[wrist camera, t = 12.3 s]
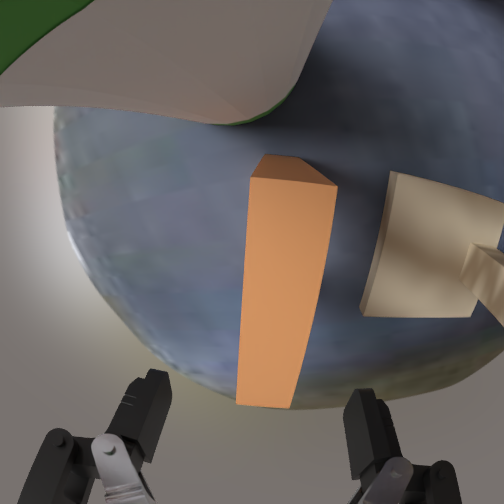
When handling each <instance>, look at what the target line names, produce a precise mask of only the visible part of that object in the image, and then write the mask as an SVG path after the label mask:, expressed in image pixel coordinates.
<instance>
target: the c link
mask: <svg viewBox="0 0 504 504" xmlns="http://www.w3.org/2000/svg"><path fill="white" fill-rule="evenodd" d="M337 189H338V186H337V185H335V184H334V183H333V182H331V181H330V180H329V179H328V178H326V177H325V176H324V175H322V174H321V173H320V172H318V171H317V170H315V169H314V168H313V167H311V166H310V165H309V164H307V163H306V162H305V161H303V160H302V159H300V158H299V157H291V156H282V155H271V154H265V155H264V156H263V158H262V159H261V161H260V162H259V164H258V166H257V167H256V169H255V171H254V172H253V174H252V175H251V177H250V191H249V206H248V220H247V235H246V250H245V265H244V280H243V296H242V312H241V328H240V344H239V361H238V378H237V395H236V404H241V405H250V406H262V407H275V408H290V404H291V401H292V398H293V394H294V391H295V387H296V384H297V380H298V377H299V373H300V370H301V366H302V362H303V359H304V355H305V351H306V347H307V343H308V339H309V335H310V331H311V327H312V323H313V318H314V314H315V310H316V305H317V301H318V296H319V291H320V287H321V282H322V277H323V272H324V267H325V262H326V256H327V251H328V246H329V240H330V234H331V228H332V222H333V216H334V210H335V203H336V196H337Z"/></svg>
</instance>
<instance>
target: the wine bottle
mask: <svg viewBox="0 0 504 504" xmlns="http://www.w3.org/2000/svg"><path fill="white" fill-rule="evenodd" d="M332 1H333V0H0V107H13V106H74V107H91V108H104V109H115V110H124V111H133V112H140V113H148V114H155V115H161V116H167V117H173V118H179V119H184V120H190V121H195V122H200V123H205V124H212V125H232V126H234V125H238V124H243V123H248V122H252V121H254V120H257V119H259V118H261V117H263V116H265V115H267V114H269V113H271V112H272V111H273V110H274V109H276V108H277V107H278V106H279V105H281V104H282V103H283V102H284V101H285V99H286V98H287V97H288V95H289V94H290V93H291V91H292V90H293V89H294V86H295V84H296V82H297V81H298V78H299V76H300V74H301V71H302V69H303V67H304V64H305V62H306V60H307V57H308V55H309V53H310V50H311V48H312V46H313V43H314V41H315V39H316V37H317V34H318V32H319V30H320V28H321V25H322V23H323V21H324V19H325V16H326V14H327V12H328V10H329V7H330V5H331V3H332Z"/></svg>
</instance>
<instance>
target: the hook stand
mask: <svg viewBox="0 0 504 504" xmlns="http://www.w3.org/2000/svg"><path fill="white" fill-rule="evenodd" d="M503 224H504V203H502V202H500V201H497V200H494V199H492V198H489V197H486V196H483V195H480V194H477V193H474V192H470V191H467V190H464V189H461V188H457V187H454V186H450V185H447V184H443V183H440V182H436V181H432V180H428V179H424V178H420V177H416V176H412V175H408V174H404V173H399V172H395V171H390V175H389V182H388V188H387V194H386V199H385V205H384V210H383V215H382V220H381V225H380V230H379V234H378V239H377V243H376V247H375V251H374V256H373V260H372V263H371V267H370V271H369V275H368V279H367V282H366V286H365V289H364V293H363V296H362V299H361V303H360V306H359V308H360V310H361V312H362V315H363V316H368V317H408V318H447V317H471V314H472V312H473V310H474V308H475V306H476V303H477V301H478V299H479V300H480V301H481V302H482V303H483V304H484V306H485V307H486V308H487V309H488V310H489V311H490V312H491V313H492V314H493V315H494V316H495V318H496V319H497V320H498V321H499V322H500V323H501V324H502V326H503V327H504V253H502V252H501V251H499V250H498V249H497V246H498V243H499V239H500V236H501V232H502V228H503Z"/></svg>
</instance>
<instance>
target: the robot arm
mask: <svg viewBox="0 0 504 504" xmlns="http://www.w3.org/2000/svg"><path fill="white" fill-rule="evenodd" d="M171 401H172V390H171V386H170V380H169V375H168V372H165V371H160V370H156V369H150V370H149V371H148V373H147V375H146V377H145V379H142V378H139V377H138V378H137V379H135V380H134V381H133V382H132V383H131V384H130V385H129V386H128V388H127V390H126V392H125V396H123V398H122V400H121V403H120V405H119V407H118V409H117V411H116V413H115V415H114V417H113V419H112V421H111V423H110V425H109V427H108V429H107V431H106V432H105V433H104V434H101V435H99V436H97V437H96V438H83V437H74V436H72V435H71V434H70V433H69V432H68V431H67V430H65V429H61V428H56V429H53V430H51V431H49V432H48V434H47V435H46V437H45V439H44V441H43V443H42V445H41V447H40V450H39V452H38V454H37V456H36V459H35V461H34V463H33V465H32V467H31V470H30V472H29V475H28V477H27V479H26V482H25V484H24V487H23V489H22V492H21V495H20V498H19V500H18V503H17V504H87V502H88V499H89V495H90V492H91V489H92V486H93V483H94V480H95V478H96V479H101V480H102V483H103V486H104V488H105V492H106V495H105V501H106V504H158V503H157V501H156V499H155V497H154V495H153V494H152V491H151V490H150V487H149V486H148V483H147V481H146V479H145V477H144V475H143V473H142V471H141V467H142V464H143V461H145V462H148V463H151V462H152V459H153V456H154V452H155V450H156V446H157V443H158V440H159V437H160V434H161V431H162V429H163V426H164V423H165V420H166V417H167V414H168V411H169V408H170V405H171ZM343 421H344V427H345V434H346V440H347V447H348V454H349V460H350V468H351V476H352V480H358V479H360V481H361V485H360V486H359V487H358V489H357V490H356V492H355V493H354V495H353V496H352V498H351V499H350V500H349V502H348V503H347V504H398V503H399V504H462V501H461V497H460V492H459V486H458V482H457V478H456V473H455V470H454V467H453V465H452V464H451V463H449V462H448V461H443V460H441V461H438V462H436V463H434V464H433V465H432V466H423V465H414V464H411V462H410V461H409V460H407V459H406V458H404V457H403V456H402V453H401V450H400V446H399V442H398V439H397V435H396V432H395V428H394V427H393V422H392V419H391V414H390V411H389V408H388V406H387V405H386V404H385V403H384V401H383V400H382V399H376V397H375V393H374V391H373V389H372V388H367V389H355V390H354V392H353V394H352V396H351V397H350V399H349V401H348V403H347V405H346V407H345V409H344V413H343Z"/></svg>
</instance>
